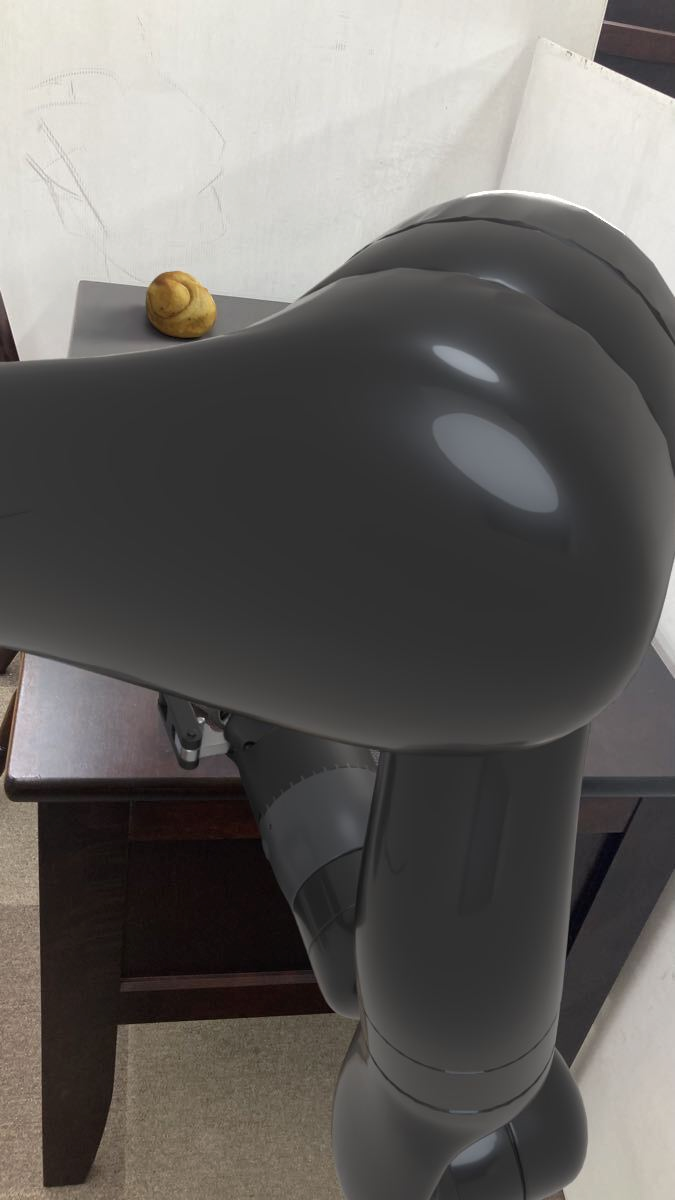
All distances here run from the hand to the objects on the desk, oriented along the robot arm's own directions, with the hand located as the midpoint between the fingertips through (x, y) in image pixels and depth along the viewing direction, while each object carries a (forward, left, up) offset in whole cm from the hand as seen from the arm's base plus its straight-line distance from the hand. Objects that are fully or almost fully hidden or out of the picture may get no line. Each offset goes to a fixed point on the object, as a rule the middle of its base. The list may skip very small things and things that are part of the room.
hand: (248, 630), depth 61 cm
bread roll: (+13, +78, -10) cm, 80 cm away
